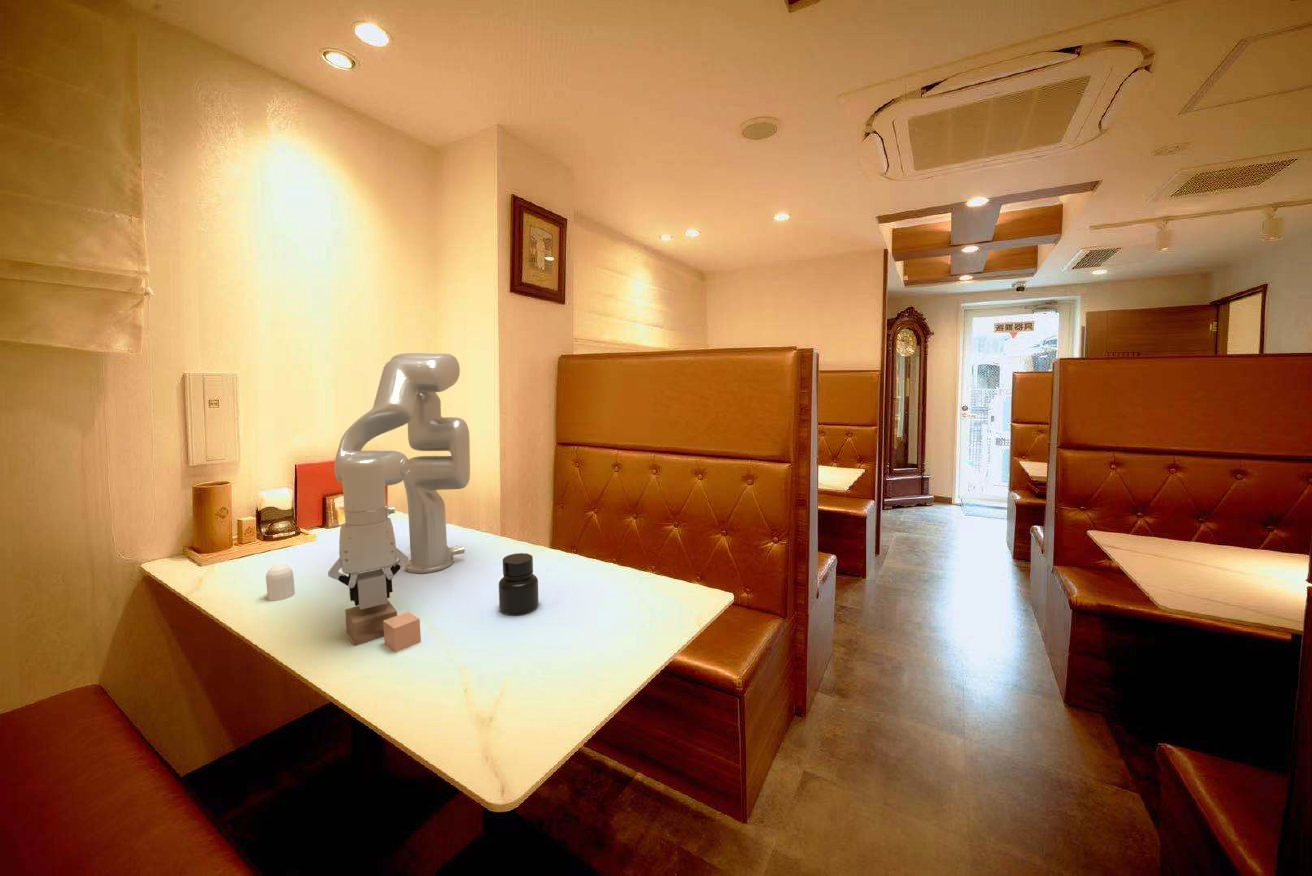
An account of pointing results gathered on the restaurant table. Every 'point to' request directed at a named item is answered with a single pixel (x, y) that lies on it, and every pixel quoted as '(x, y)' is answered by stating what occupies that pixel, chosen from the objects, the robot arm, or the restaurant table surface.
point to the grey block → (371, 588)
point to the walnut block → (367, 622)
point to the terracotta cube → (401, 631)
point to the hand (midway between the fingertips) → (371, 598)
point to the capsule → (280, 582)
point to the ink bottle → (518, 585)
